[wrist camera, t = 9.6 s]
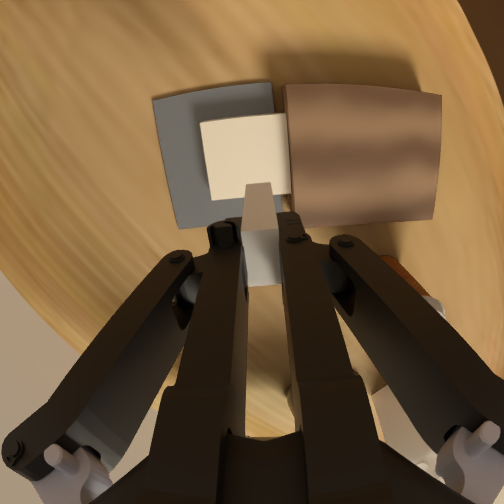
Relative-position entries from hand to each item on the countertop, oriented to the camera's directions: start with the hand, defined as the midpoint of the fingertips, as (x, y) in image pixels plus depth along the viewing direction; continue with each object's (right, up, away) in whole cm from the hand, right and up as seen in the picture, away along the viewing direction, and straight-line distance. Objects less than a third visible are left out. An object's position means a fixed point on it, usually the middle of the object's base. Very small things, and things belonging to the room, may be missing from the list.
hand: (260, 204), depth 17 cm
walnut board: (+11, +8, +10) cm, 17 cm away
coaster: (-1, +7, +10) cm, 12 cm away
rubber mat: (-4, +7, +11) cm, 13 cm away
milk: (+34, -34, +35) cm, 60 cm away
